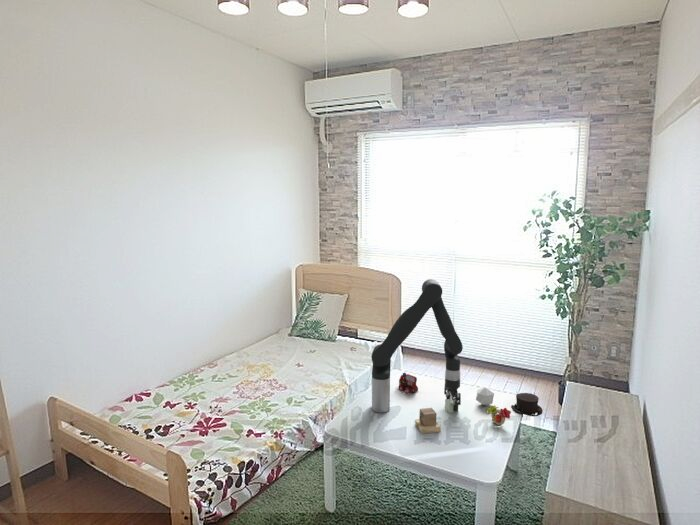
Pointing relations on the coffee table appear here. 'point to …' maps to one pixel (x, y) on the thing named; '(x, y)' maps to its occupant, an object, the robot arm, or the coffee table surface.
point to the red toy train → (408, 383)
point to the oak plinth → (427, 429)
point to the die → (484, 396)
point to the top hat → (527, 404)
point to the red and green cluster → (501, 415)
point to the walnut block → (427, 417)
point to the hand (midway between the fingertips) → (451, 407)
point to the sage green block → (449, 405)
